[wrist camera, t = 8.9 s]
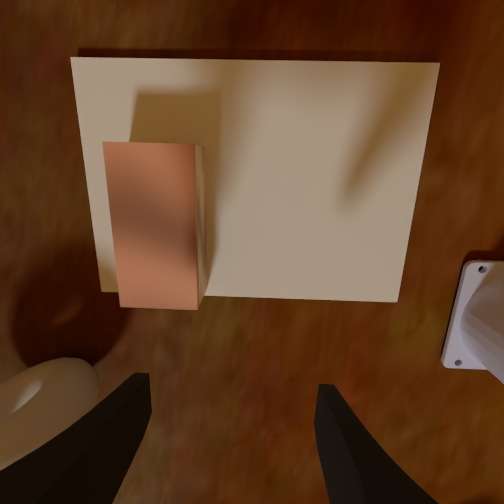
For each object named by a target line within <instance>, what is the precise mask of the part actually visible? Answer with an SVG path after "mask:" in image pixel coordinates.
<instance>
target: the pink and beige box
mask: <svg viewBox="0 0 504 504" xmlns="http://www.w3.org/2000/svg"><path fill="white" fill-rule="evenodd" d="M102 145H103V154H104V163H105V172H106V181H107V190H108V199H109V209H110V218H111V227H112V236H113V245H114V254H115V263H116V272H117V281H118V290H119V300H120V307H137V308H161V309H185V310H198V308H199V306H200V303H201V301H202V299H203V297H204V294H205V292H206V290H207V266H206V207H205V148H204V147H202V146H198V145H195V144H178V143H142V142H106V141H102Z"/></svg>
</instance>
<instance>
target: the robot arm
mask: <svg viewBox="0 0 504 504" xmlns="http://www.w3.org/2000/svg"><path fill="white" fill-rule="evenodd" d="M481 266H482V269H481V270H480V271H478V269H479V267H481ZM456 360H458V361H457V362H455V361H456ZM441 362H442V364H443V365H444V366H445V367H447V368H462V369H487V370H489V371H490V372H491V373H492V374H493V375H494V376H496V377H497V378H498V379H499V380H500V381H501V382H502V383H503V384H504V261H485V260H470V261H468V262H466V263H465V264H464V266H463V270H462V274H461V278H460V282H459V287H458V291H457V295H456V299H455V303H454V307H453V311H452V316H451V320H450V324H449V328H448V332H447V336H446V340H445V345H444V349H443V353H442V357H441ZM151 413H152V408H151V394H150V380H149V373H134V374H133V375H132V376H130V377H129V378H128V379H127V380H126V381H125V382H123V383H122V384H121V385H120V386H119V387H118V388H116V389H115V390H114V391H113V392H112V393H111V394H109V395H108V396H107V397H106V398H105V399H104V400H102V401H101V402H100V403H99V404H98V405H96V406H95V407H94V408H93V409H92V410H90V411H89V412H88V413H86V414H85V415H84V416H82V417H81V418H80V419H79V420H77V421H76V422H75V423H73V424H72V425H71V426H69V427H68V428H67V429H65V430H64V431H63V432H61V433H60V434H58V435H57V436H55V437H54V438H52V439H51V440H49V441H48V442H46V443H45V444H43V445H42V446H40V447H39V448H37V449H36V450H34V451H32V452H31V453H29V454H27V455H26V456H24V457H22V458H21V459H19V460H17V461H16V462H14V463H12V464H11V465H9V466H7V467H5V468H4V469H2V470H0V504H112V503H113V501H114V498H115V496H116V494H117V492H118V490H119V488H120V486H121V484H122V482H123V479H124V477H125V475H126V473H127V471H128V469H129V467H130V465H131V463H132V461H133V458H134V456H135V454H136V452H137V450H138V448H139V446H140V443H141V441H142V439H143V437H144V434H145V431H146V428H147V425H148V422H149V419H150V416H151ZM314 425H315V434H316V441H317V449H318V453H319V458H320V462H321V466H322V471H323V475H324V479H325V483H326V488H327V492H328V496H329V500H330V504H438V503H437V502H436V501H435V500H434V499H433V498H432V497H431V496H429V495H428V494H427V493H426V492H425V491H424V490H423V489H422V488H421V487H419V486H418V485H417V484H416V483H415V482H414V481H413V480H412V479H411V478H410V477H409V476H408V475H407V474H406V473H405V472H404V471H403V470H402V469H401V468H400V467H399V466H398V465H397V464H396V463H395V462H394V461H393V460H392V459H391V458H390V457H389V455H388V454H387V453H386V452H385V451H384V450H383V449H382V447H381V446H380V445H379V444H378V443H377V442H376V440H375V439H374V438H373V437H372V436H371V434H370V433H369V432H368V431H367V429H366V428H365V427H364V426H363V424H362V423H361V422H360V420H359V419H358V418H357V416H356V415H355V414H354V412H353V411H352V410H351V408H350V407H349V405H348V404H347V403H346V401H345V400H344V398H343V397H342V395H341V394H340V393H339V391H338V390H337V388H336V387H335V386H334V385H329V384H319V388H318V396H317V404H316V412H315V420H314Z"/></svg>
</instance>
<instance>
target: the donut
mask: <svg viewBox="0 0 504 504" xmlns="http://www.w3.org/2000/svg"><path fill="white" fill-rule="evenodd" d="M98 388H99V378H98V375H97V373H96V371H95V370H94V369H93V368H92V366H91V365H90V364H89V363H88V362H87V361H85V360H83V359H80V358H68V357H62V358H58V359H54V360H50V361H46V362H43V363H40V364H38V365H35V366H33V367H31V368H28V369H26V370H24V371H22V372H20V373H18V374H17V375H15V376H13V377H11V378H9V379H7V380H6V381H4V382H2V383H1V384H0V470H2V469H4V468H5V467H7V466H9V465H11V464H12V463H14V462H16V461H17V460H19V459H21V458H22V457H24V456H26V455H27V454H29V453H31V452H32V451H34V450H36V449H37V448H39V447H40V446H42V445H43V444H45V443H46V442H48V441H49V440H51V439H52V438H54V437H55V436H57V435H58V434H60V433H61V432H63V431H64V430H65V429H67V428H68V427H69V426H71V425H72V424H73V423H75V422H76V421H77V420H79V419H80V418H81V417H82V416H84V415H85V414H86V413H88V412H89V411H90V410H92V409H93V407H94V405H95V402H96V400H97V395H98Z"/></svg>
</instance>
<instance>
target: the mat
mask: <svg viewBox="0 0 504 504" xmlns="http://www.w3.org/2000/svg"><path fill="white" fill-rule="evenodd" d="M70 58H71V66H72V73H73V81H74V88H75V96H76V103H77V111H78V118H79V126H80V133H81V141H82V148H83V156H84V164H85V171H86V179H87V186H88V194H89V201H90V209H91V216H92V224H93V231H94V239H95V246H96V254H97V261H98V269H99V277H100V284H101V292H119V290H118V281H117V272H116V263H115V254H114V245H113V236H112V227H111V218H110V209H109V199H108V190H107V181H106V172H105V163H104V154H103V145H102V141H106V142H142V143H178V144H195V145H198V146H202V147H204V148H205V207H206V266H207V290H206V292H205V294H204V295H206V296H235V297H263V298H291V299H319V300H347V301H375V302H397V300H398V295H399V289H400V284H401V278H402V272H403V267H404V261H405V256H406V250H407V245H408V239H409V234H410V228H411V222H412V217H413V211H414V206H415V200H416V195H417V189H418V184H419V178H420V172H421V167H422V161H423V156H424V150H425V145H426V139H427V134H428V128H429V122H430V117H431V111H432V106H433V100H434V95H435V89H436V84H437V78H438V72H439V67H440V63H414V62H350V61H285V60H221V59H157V58H92V57H70Z"/></svg>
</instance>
